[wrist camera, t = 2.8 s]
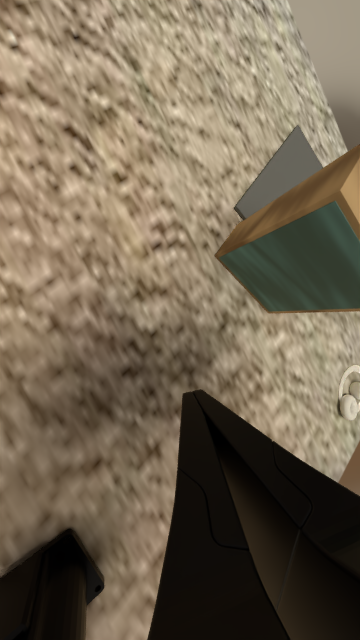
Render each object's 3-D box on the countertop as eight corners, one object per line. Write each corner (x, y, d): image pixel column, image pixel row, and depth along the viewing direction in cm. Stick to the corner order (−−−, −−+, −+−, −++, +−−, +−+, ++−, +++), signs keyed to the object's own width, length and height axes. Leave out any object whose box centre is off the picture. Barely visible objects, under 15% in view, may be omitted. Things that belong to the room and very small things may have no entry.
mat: (296, 285, 26) (299, 284, 26) (233, 208, 22) (236, 206, 22) (341, 206, 30) (344, 204, 30) (295, 127, 26) (298, 124, 26)
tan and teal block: (268, 313, 25) (408, 310, 14) (214, 256, 21) (339, 190, 10) (286, 283, 26) (429, 257, 15) (237, 224, 23) (372, 135, 12)
